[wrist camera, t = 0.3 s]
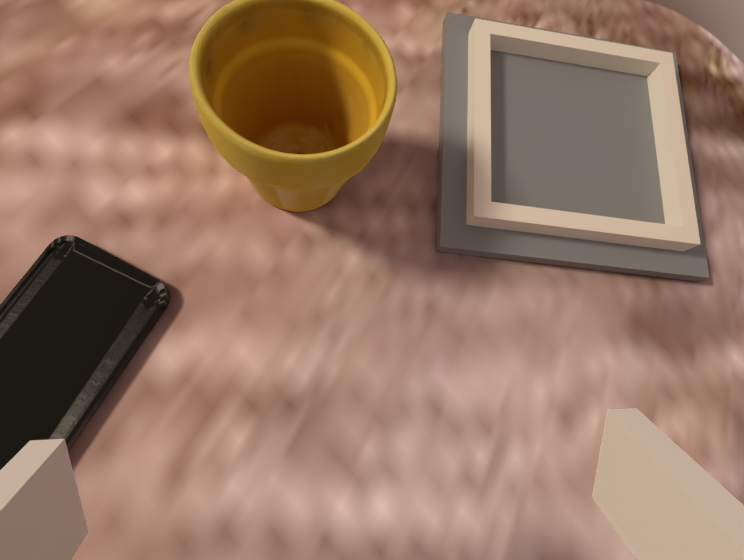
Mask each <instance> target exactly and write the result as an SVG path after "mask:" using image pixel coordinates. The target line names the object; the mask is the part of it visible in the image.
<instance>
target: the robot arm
mask: <svg viewBox="0 0 744 560" xmlns="http://www.w3.org/2000/svg"><path fill="white" fill-rule="evenodd" d="M592 498H593V500H594V501H595V503H596V504H597V505H598V507H599V508H600V510H601V511H602V512H603V514H604V515H605V517H606V518H607V519H608V521H609V522H610V524H611V525H612V527H613V528H614V529H615V531H616V532H617V534H618V535H619V536H620V538H621V539H622V541H623V542H624V543H625V545H626V546H627V548H628V549H629V550H630V552H631V553H632V555H633V556H634V558H635V559H636V560H744V505H743V504H742V503H740V502H739V501H738V500H737V499H736V498H735V497H734V496H733V495H732V494H730V493H729V492H728V491H727V490H726V489H725V488H724V487H723V486H722V485H721V484H719V483H718V482H717V481H716V480H715V479H714V478H713V477H712V476H711V475H709V474H708V473H707V472H706V471H705V470H704V469H703V468H702V467H701V466H700V465H698V464H697V463H696V462H695V461H694V460H693V459H692V458H691V457H690V456H688V455H687V454H686V453H685V452H684V451H683V450H682V449H681V448H680V447H679V446H677V445H676V444H675V443H674V442H673V441H672V440H671V439H670V438H669V437H667V436H666V435H665V434H664V433H663V432H662V431H661V430H660V429H659V428H658V427H656V426H655V425H654V424H653V423H652V422H651V421H650V420H649V419H648V418H646V417H645V416H644V415H643V414H642V413H641V412H640V411H639V410H638V409H637V408H630V409H611V410H607V414H606V420H605V425H604V431H603V437H602V443H601V448H600V454H599V460H598V465H597V471H596V477H595V482H594V488H593V494H592ZM87 533H88V529H87V525H86V521H85V517H84V513H83V509H82V505H81V501H80V497H79V493H78V489H77V485H76V481H75V477H74V473H73V469H72V465H71V461H70V457H69V454H68V450H67V446H66V442H65V439H50V440H31V441H29V442H28V443H27V444H26V445H25V446H24V447H23V448H22V449H21V450H20V451H19V452H18V453H17V454H16V455H15V456H14V457H13V458H12V459H11V460H10V461H9V462H8V463H7V464H6V465H5V466H4V467H3V468H2V469H1V470H0V560H71V559H72V557H73V555H74V554H75V552H76V551H77V549H78V547H79V546H80V544H81V543H82V541H83V539H84V538H85V536H86V535H87Z"/></svg>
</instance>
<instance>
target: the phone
mask: <svg viewBox="0 0 744 560" xmlns="http://www.w3.org/2000/svg"><path fill="white" fill-rule="evenodd" d="M169 300H170V294H169V290H168V289H167V287H166V286H165V285H164V284H163V283H162V282H160V281H159V280H158V279H156V278H154V277H152V276H150V275H148V274H146V273H145V272H143V271H141V270H139V269H137V268H135V267H133V266H131V265H130V264H128V263H126V262H124V261H122V260H120V259H118V258H116V257H114V256H113V255H111V254H109V253H107V252H105V251H103V250H101V249H99V248H98V247H96V246H94V245H92V244H90V243H88V242H86V241H84V240H83V239H81V238H79V237H76V236H71V235H66V236H62V237H59V238H57V239H55V240H54V241H53V242H52V243H50V244H49V246H48V247H47V248H46V249H45V251H44V252H43V253H42V254H41V255H40V257H39V258H38V259H37V260H36V262H35V263H34V264H33V265H32V266H31V268H30V269H29V270H28V271H27V273H26V274H25V275H24V276H23V278H22V279H21V280H20V281H19V282H18V284H17V285H16V286H15V287H14V289H13V290H12V291H11V292H10V294H9V295H8V296H7V297H6V298H5V300H4V301H3V302H2V303H1V305H0V470H1V469H2V468H3V467H4V466H5V465H6V464H7V463H8V462H9V461H10V460H11V459H12V458H13V457H14V456H15V455H16V454H17V453H18V452H19V451H20V450H21V449H22V448H23V447H24V446H25V445H26V444H27V443H28V442H29V441H31V440H50V439H65V442H66V446H67V450H68V451H69V450H70V448H71V447H72V445H73V444H74V442H75V441H76V439H77V438H78V436H79V435H80V434H81V432H82V431H83V429H84V428H85V426H86V425H87V423H88V422H89V420H90V419H91V417H92V416H93V415H94V413H95V412H96V410H97V409H98V407H99V406H100V404H101V403H102V401H103V400H104V398H105V397H106V395H107V394H108V393H109V391H110V390H111V388H112V387H113V385H114V384H115V382H116V381H117V379H118V378H119V376H120V375H121V374H122V372H123V371H124V369H125V368H126V366H127V365H128V363H129V362H130V360H131V359H132V357H133V356H134V355H135V353H136V352H137V350H138V349H139V347H140V346H141V344H142V343H143V341H144V340H145V338H146V337H147V336H148V334H149V333H150V331H151V330H152V328H153V327H154V325H155V324H156V322H157V321H158V319H159V318H160V317H161V315H162V314H163V312H164V311H165V309H166V308H167V306H168V304H169Z"/></svg>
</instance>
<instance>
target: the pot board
mask: <svg viewBox="0 0 744 560" xmlns="http://www.w3.org/2000/svg"><path fill="white" fill-rule="evenodd" d="M436 251H438V252H446V253H455V254H464V255H472V256H481V257H490V258H498V259H507V260H516V261H524V262H533V263H542V264H550V265H559V266H568V267H576V268H585V269H594V270H602V271H611V272H620V273H628V274H637V275H646V276H654V277H663V278H672V279H681V280H689V281H701V280H704V279H707V278H709V271H708V265H707V258H706V251H705V245H704V238H703V231H702V225H701V218H700V211H699V205H698V198H697V191H696V185H695V178H694V171H693V165H692V158H691V151H690V145H689V138H688V131H687V125H686V118H685V111H684V104H683V98H682V91H681V84H680V78H679V71H678V64H677V58H676V52H670V51H664V50H659V49H653V48H647V47H642V46H636V45H630V44H625V43H619V42H613V41H608V40H602V39H596V38H591V37H585V36H579V35H574V34H568V33H562V32H557V31H551V30H545V29H540V28H534V27H528V26H523V25H517V24H511V23H506V22H500V21H494V20H489V19H483V18H477V17H472V16H466V15H460V14H455V13H449V12H447V13H446V16H445V19H444V22H443V47H442V79H441V111H440V143H439V175H438V207H437V240H436Z"/></svg>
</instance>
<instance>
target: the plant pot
mask: <svg viewBox="0 0 744 560" xmlns="http://www.w3.org/2000/svg"><path fill="white" fill-rule="evenodd" d="M189 78H190V85H191V89H192V93H193V97H194V100H195V104H196V107H197V109H198V112H199V115H200V118H201V120H202V123H203V125H204V128H205V130H206V132H207V134H208V136H209V138H210V140H211V142H212V144H213V145H214V147H215V148H216V150H217V151H218V152H219V154H220V155H221V156H222V157H223V158H224V159H225V160H226V161H227V162H228V163H229V164H230V165H231V166H232V167H234V168H235V169H236V170H237V171H239V172H240V173H242V174H243V175H245V176H246V177H247V178H248V180H249V181H250V183H251V184H252V186H253V187H254V188H255V190H256V191H257V193H258V194H259V195H260V196H261V197H262V198H263V199H264V200H266V201H267V202H269V203H270V204H272V205H274V206H276V207H278V208H281V209H284V210H288V211H294V212H303V211H310V210H314V209H317V208H319V207H321V206H323V205H325V204H326V203H328V202H329V201H331V200H332V199H333V198H334V197H335V196H336V195H337V193H338V192H339V191H340V189H341V188H342V186H343V185H344V183H345V182H346V180H348V179H349V178H351V177H353V176H354V175H356V174H357V173H358V172H360V171H361V170H362V169H363V168H364V167H365V166H366V165H367V164H368V163H369V162H370V161H371V159H372V158H373V157H374V155H375V154H376V152H377V151H378V149H379V147H380V145H381V143H382V140H383V138H384V136H385V133H386V130H387V128H388V125H389V122H390V119H391V116H392V112H393V109H394V105H395V101H396V95H397V76H396V70H395V65H394V62H393V59H392V56H391V54H390V52H389V49H388V47H387V46H386V44H385V42H384V41H383V39H382V38H381V36H380V35H379V33H378V32H377V31H376V30H375V29H374V28H373V26H372V25H371V24H370V23H369V22H367V21H366V20H365V19H364V18H363V17H362V16H361V15H359V14H358V13H357V12H355V11H354V10H352V9H351V8H349V7H348V6H346V5H344V4H342V3H340V2H338V1H336V0H234V1H232V2H230V3H229V4H227V5H225V6H224V7H222V8H221V9H220V10H218V11H217V12H216V13H215V14H214V15H213V16H211V17H210V18H209V20H208V21H207V22H206V23H205V24H204V26H203V27H202V29H201V30H200V32H199V33H198V35H197V37H196V39H195V41H194V44H193V47H192V50H191V54H190V61H189Z"/></svg>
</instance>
